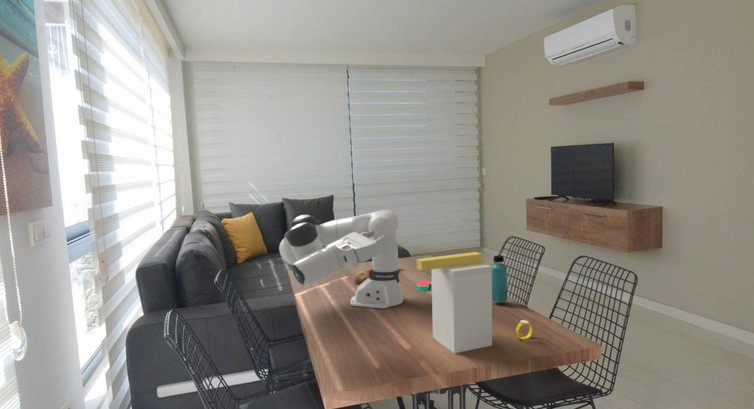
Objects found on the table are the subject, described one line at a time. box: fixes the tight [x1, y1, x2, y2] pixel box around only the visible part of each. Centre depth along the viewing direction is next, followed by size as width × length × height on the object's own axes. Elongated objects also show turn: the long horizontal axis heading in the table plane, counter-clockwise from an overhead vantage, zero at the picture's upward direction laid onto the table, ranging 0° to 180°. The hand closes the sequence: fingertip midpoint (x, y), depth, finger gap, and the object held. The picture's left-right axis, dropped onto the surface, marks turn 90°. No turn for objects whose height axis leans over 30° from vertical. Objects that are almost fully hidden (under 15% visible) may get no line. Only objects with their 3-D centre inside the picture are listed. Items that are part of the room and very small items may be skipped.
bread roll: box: [354, 269, 369, 286], centre depth 224 cm, size 10×10×8 cm
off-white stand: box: [430, 262, 493, 354], centre depth 147 cm, size 14×14×26 cm
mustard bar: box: [416, 251, 483, 272], centre depth 144 cm, size 22×4×3 cm, turn 111°
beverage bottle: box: [491, 255, 508, 303], centre depth 184 cm, size 6×7×20 cm
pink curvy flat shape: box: [416, 280, 432, 291], centre depth 213 cm, size 20×16×2 cm
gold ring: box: [515, 319, 534, 341], centre depth 148 cm, size 6×3×6 cm, turn 111°
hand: (379, 235), depth 147 cm, fingers open, 8 cm apart
